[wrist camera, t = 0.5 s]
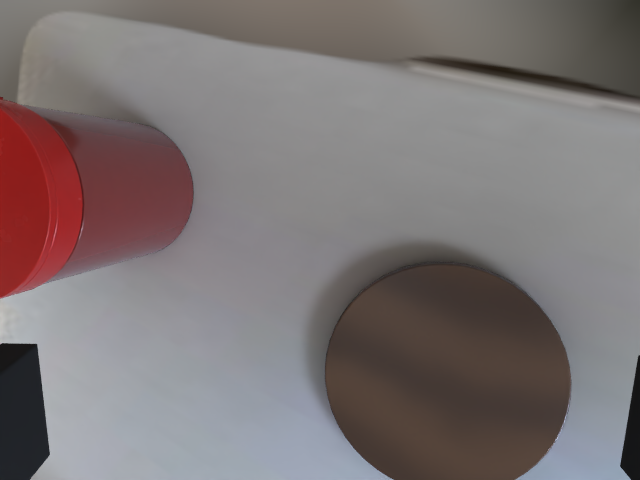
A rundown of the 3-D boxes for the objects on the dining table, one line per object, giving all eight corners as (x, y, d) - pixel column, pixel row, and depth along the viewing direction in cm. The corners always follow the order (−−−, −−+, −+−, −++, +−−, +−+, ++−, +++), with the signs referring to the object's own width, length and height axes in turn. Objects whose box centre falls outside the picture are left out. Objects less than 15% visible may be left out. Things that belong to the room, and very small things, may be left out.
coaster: (347, 240, 30) (345, 242, 29) (594, 289, 27) (599, 292, 27) (311, 452, 32) (307, 459, 31) (537, 515, 29) (540, 524, 29)
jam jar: (80, 113, 32) (-110, 82, 21) (201, 133, 31) (66, 112, 20) (69, 241, 34) (-116, 276, 23) (184, 267, 32) (48, 318, 21)
